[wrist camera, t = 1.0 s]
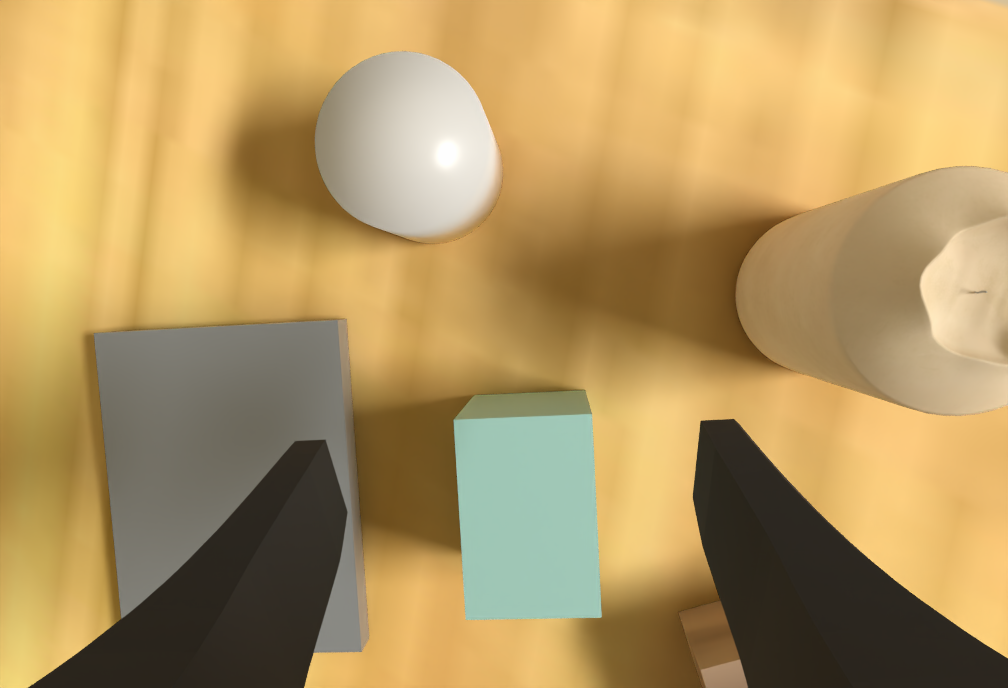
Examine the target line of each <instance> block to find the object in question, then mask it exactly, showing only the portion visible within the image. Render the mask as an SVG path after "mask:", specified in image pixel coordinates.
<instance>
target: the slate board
mask: <svg viewBox="0 0 1008 688" xmlns="http://www.w3.org/2000/svg"><path fill="white" fill-rule="evenodd" d="M94 341H95V351H96V361H97V372H98V382H99V393H100V403H101V413H102V424H103V434H104V444H105V455H106V465H107V476H108V486H109V496H110V507H111V517H112V527H113V538H114V548H115V558H116V569H117V579H118V590H119V600H120V610H121V619H122V618H123V617H125V616H126V615H127V614H128V613H130V612H131V611H132V610H133V609H135V608H136V607H137V606H138V605H139V604H140V603H142V602H143V601H144V600H145V599H146V598H147V597H148V596H150V595H151V594H152V593H153V592H154V591H155V590H156V589H157V588H159V587H160V586H161V585H162V584H163V583H164V582H165V581H166V580H168V579H169V578H170V577H171V576H172V575H173V574H174V573H175V572H176V571H177V570H178V569H179V568H180V567H181V566H182V565H183V564H184V563H185V562H186V561H187V560H188V559H189V558H190V557H191V556H192V555H193V554H194V553H195V552H196V551H197V550H198V549H199V548H200V547H201V546H202V545H203V544H204V543H205V542H206V541H207V540H208V539H209V538H210V537H211V536H212V535H213V534H214V533H215V532H216V531H217V530H218V528H219V527H220V526H221V525H222V524H223V523H224V522H225V521H226V520H227V519H228V517H229V516H230V515H231V514H232V513H233V512H234V511H235V510H236V509H237V507H238V506H239V505H240V504H241V503H242V502H243V501H244V500H245V498H246V497H247V496H248V495H249V494H250V493H251V492H252V490H253V489H254V488H255V487H256V486H257V485H258V483H259V482H260V481H261V480H262V479H263V478H264V476H265V475H266V474H267V473H268V472H269V470H270V469H271V468H272V467H273V466H274V465H275V463H276V462H277V461H278V460H279V459H280V458H281V456H282V455H283V454H284V453H285V452H286V451H287V450H288V448H289V447H290V446H291V445H292V444H293V443H294V442H295V441H305V440H325V439H326V442H327V446H328V449H329V452H330V456H331V459H332V462H333V465H334V469H335V472H336V475H337V479H338V482H339V485H340V488H341V492H342V495H343V498H344V502H345V505H346V508H347V511H348V513H347V520H346V527H345V534H344V541H343V547H342V552H341V558H340V563H339V567H338V570H337V574H336V577H335V581H334V584H333V588H332V591H331V595H330V598H329V602H328V605H327V608H326V612H325V615H324V619H323V622H322V625H321V629H320V632H319V636H318V639H317V642H316V646H315V649H314V653H316V652H362V650H363V649H364V647H365V645H366V643H367V641H368V639H369V628H368V614H367V600H366V586H365V572H364V558H363V544H362V530H361V516H360V502H359V488H358V474H357V460H356V446H355V432H354V418H353V404H352V390H351V376H350V362H349V348H348V334H347V320H346V319H335V320H317V321H299V322H280V323H262V324H244V325H225V326H207V327H189V328H170V329H152V330H134V331H115V332H102V333H94Z"/></svg>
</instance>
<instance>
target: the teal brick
mask: <svg viewBox="0 0 1008 688" xmlns="http://www.w3.org/2000/svg"><path fill="white" fill-rule="evenodd" d="M454 437H455V453H456V469H457V485H458V501H459V518H460V534H461V550H462V566H463V582H464V599H465V615H466V620H487V619H546V618H602V614H601V593H600V572H599V551H598V530H597V509H596V488H595V467H594V446H593V425H592V412H591V409H590V405H589V402H588V398H587V395H586V391H585V390H576V391H553V392H531V393H508V394H486V395H474V396H473V397H472V398H471V399H470V401H469V402H468V403H467V404H466V405H465V407H464V408H463V409H462V410H461V411H460V413H459V414H458V415H457V416H456V417H455V419H454Z"/></svg>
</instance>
